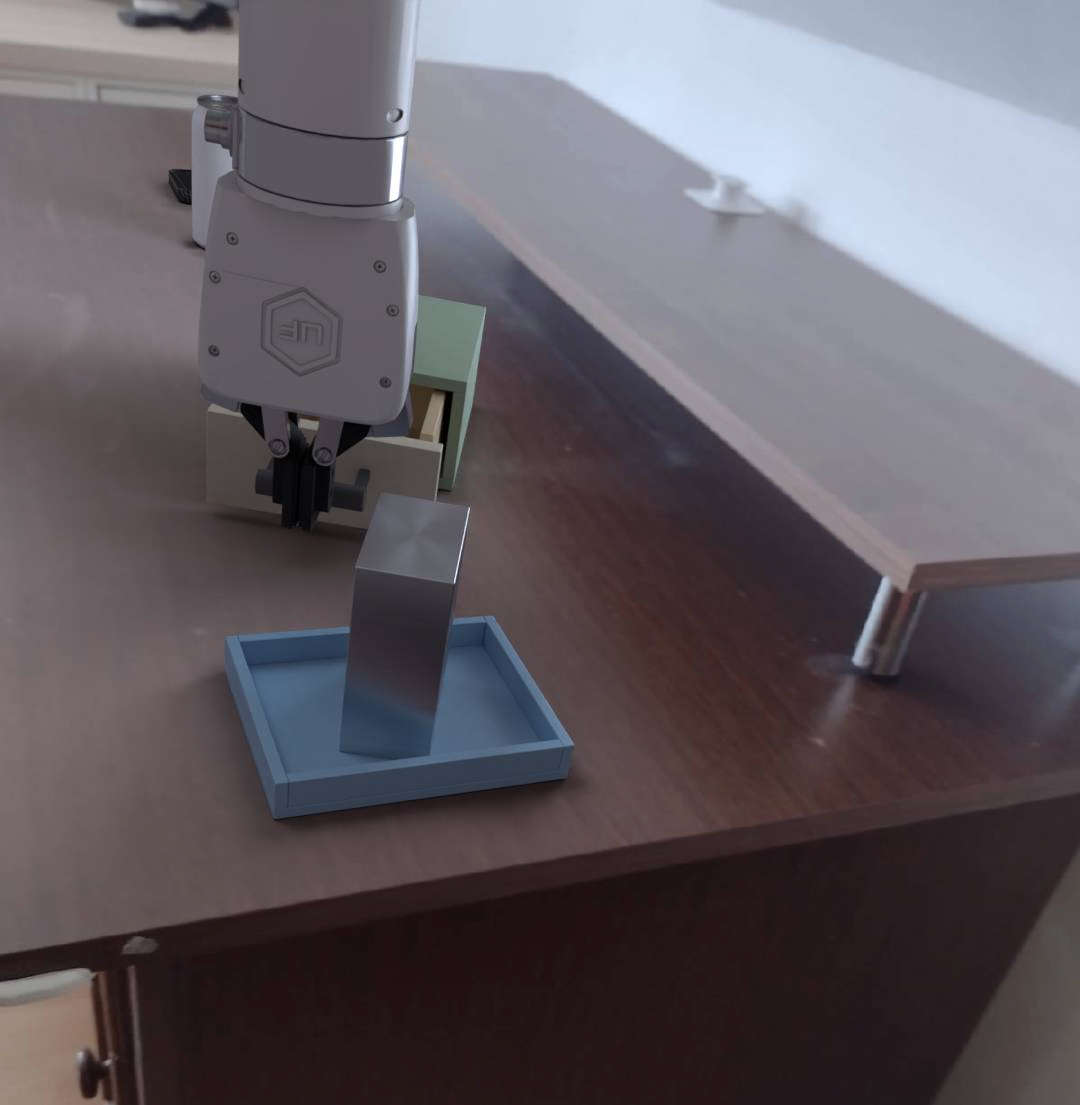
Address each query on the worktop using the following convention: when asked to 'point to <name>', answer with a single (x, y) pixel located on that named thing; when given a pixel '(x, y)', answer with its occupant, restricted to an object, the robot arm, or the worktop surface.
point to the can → (207, 164)
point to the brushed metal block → (401, 626)
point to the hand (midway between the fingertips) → (301, 517)
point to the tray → (359, 780)
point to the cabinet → (449, 368)
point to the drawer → (359, 472)
